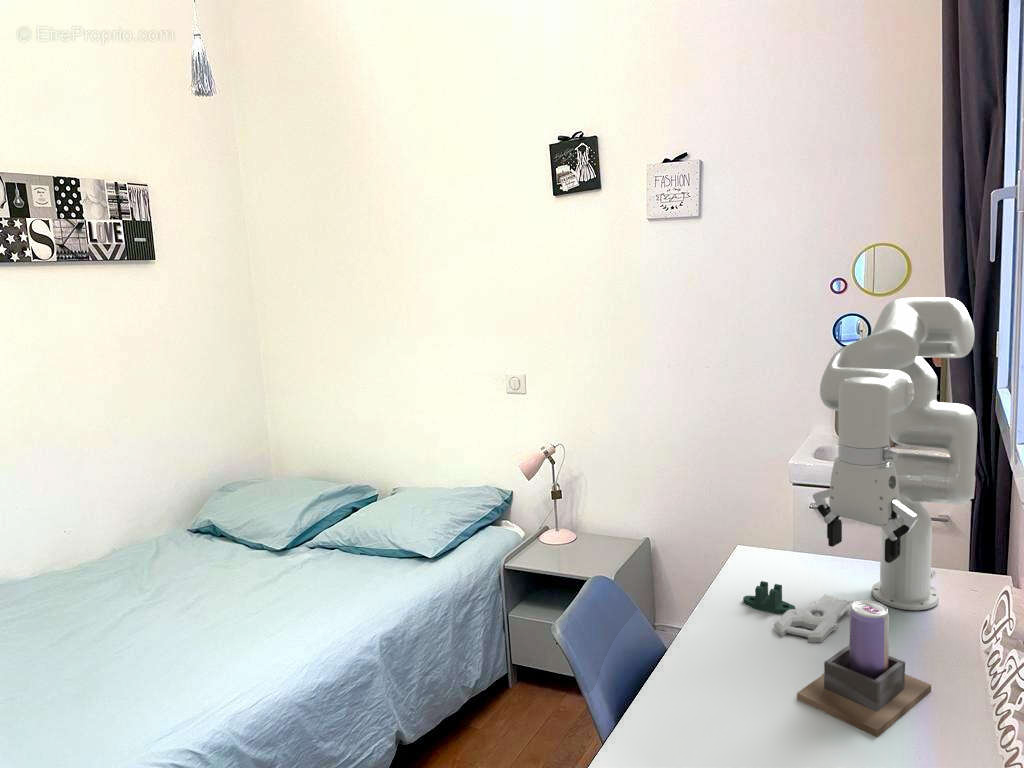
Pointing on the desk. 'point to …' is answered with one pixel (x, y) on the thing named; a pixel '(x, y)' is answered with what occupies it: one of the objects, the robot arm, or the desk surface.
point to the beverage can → (869, 638)
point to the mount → (768, 599)
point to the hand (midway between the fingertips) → (862, 551)
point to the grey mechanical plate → (813, 619)
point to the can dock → (864, 693)
